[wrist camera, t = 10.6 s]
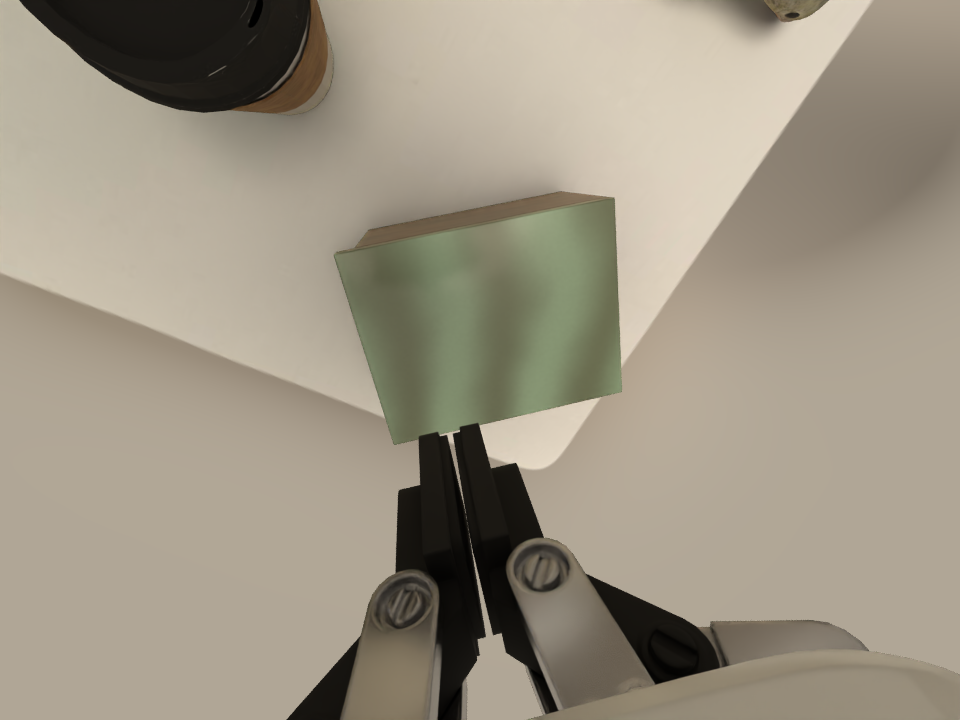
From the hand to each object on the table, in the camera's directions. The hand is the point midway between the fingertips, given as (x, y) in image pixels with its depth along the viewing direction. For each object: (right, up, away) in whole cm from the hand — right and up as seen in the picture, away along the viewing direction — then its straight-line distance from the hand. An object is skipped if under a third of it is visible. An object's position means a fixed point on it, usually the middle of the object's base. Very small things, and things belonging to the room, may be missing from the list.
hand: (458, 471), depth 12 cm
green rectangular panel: (+1, +5, +13) cm, 14 cm away
